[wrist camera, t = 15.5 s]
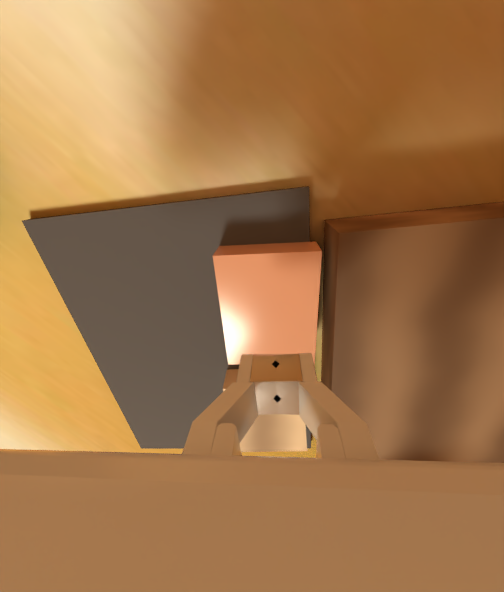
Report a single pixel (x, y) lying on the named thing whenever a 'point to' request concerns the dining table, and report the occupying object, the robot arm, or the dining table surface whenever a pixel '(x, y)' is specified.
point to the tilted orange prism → (268, 297)
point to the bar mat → (160, 296)
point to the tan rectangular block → (271, 429)
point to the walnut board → (419, 330)
